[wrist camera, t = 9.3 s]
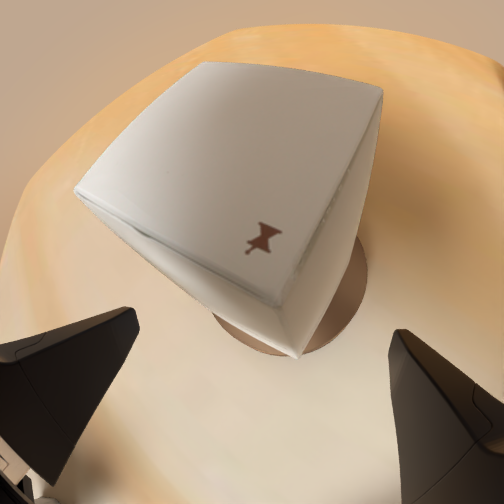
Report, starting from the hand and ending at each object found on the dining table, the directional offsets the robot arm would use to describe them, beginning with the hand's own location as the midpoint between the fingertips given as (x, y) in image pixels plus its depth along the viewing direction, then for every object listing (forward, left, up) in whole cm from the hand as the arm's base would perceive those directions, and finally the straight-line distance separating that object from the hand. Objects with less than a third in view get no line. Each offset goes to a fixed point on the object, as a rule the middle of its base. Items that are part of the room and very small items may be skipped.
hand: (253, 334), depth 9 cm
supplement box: (+2, +4, -8) cm, 10 cm away
